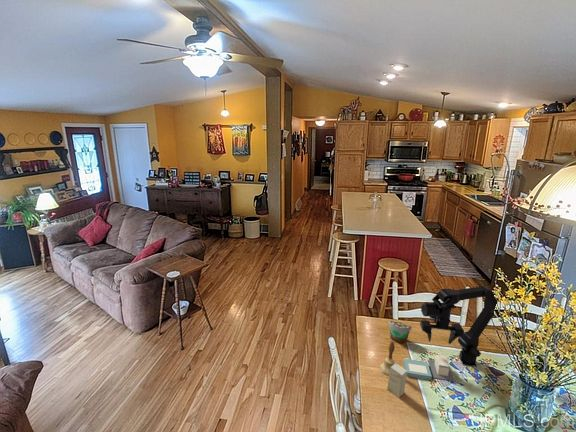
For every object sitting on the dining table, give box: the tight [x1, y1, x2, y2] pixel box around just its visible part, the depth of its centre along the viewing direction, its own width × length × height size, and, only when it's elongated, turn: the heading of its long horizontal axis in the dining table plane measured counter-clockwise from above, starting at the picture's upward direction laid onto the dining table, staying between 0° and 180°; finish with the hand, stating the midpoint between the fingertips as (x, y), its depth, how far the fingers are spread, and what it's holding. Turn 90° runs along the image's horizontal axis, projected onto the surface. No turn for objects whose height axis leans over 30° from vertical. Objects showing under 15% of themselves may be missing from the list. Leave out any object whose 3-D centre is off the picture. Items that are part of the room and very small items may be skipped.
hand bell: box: [379, 340, 396, 376], centre depth 149 cm, size 8×8×16 cm
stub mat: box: [427, 359, 456, 383], centre depth 150 cm, size 10×12×1 cm
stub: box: [434, 354, 451, 376], centre depth 149 cm, size 4×7×6 cm, turn 167°
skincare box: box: [387, 362, 408, 398], centre depth 137 cm, size 6×4×12 cm
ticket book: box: [403, 357, 433, 381], centre depth 150 cm, size 11×10×2 cm
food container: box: [388, 319, 413, 344], centre depth 171 cm, size 12×6×10 cm, turn 62°
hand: (439, 342), depth 152 cm, fingers open, 9 cm apart
